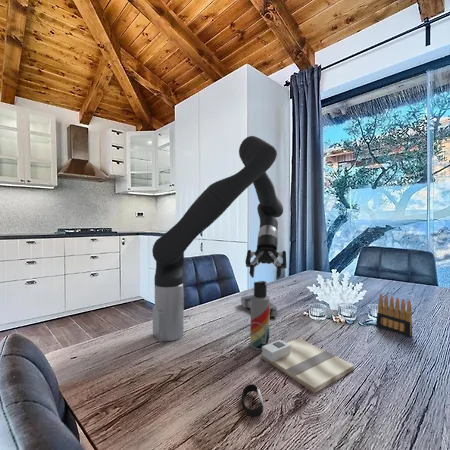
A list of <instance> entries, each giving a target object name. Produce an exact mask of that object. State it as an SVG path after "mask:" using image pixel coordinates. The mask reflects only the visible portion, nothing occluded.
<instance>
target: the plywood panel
mask: <svg viewBox="0 0 450 450" xmlns="http://www.w3.org/2000/svg"><path fill="white" fill-rule="evenodd" d="M286 343H287V344H289V345H291V354H289V355H287V356H285V357H282V358H280V359H278V360H276V361H273V362H272V361H270V360H269V359H267V358H266V357H264V356H262V352H260V358H261V359H263V360H265V361H266V362H267V363H269V364H271V365H272V366H273V367H275V368H277V369H278V370H279V371H280V372H282V373H284V374H285V375H286V376H288V377H290V378H291V379H293V380H294V381H295V382H297V383H298V384H300V385H302V386H303V387H305V388H306V389H308V390H309V391H311V392H312V393H313V394H316V393H318V392H319V391H321V390H323V389H324V388H326V387H327V386H329V385H330V384H331V385H332V384H333V383H334V382H336V381H339V379H341V378H343V377H344V376H346V375H347V374H349V373H351V372H353V371H354V370H355V365H354V364H353V363H351V362H348V361H347V360H344V359H343V358H340V357H339V356H337V355H335V354H333V353H331V352H329V351H327V350H324V349H323V348H320V347H318V346H316V345H314V344H312V343H310V342H309V341H306V340H304V339H303V338H299V337H298V338H296V339H293V340H290V341H288V342H286Z"/></svg>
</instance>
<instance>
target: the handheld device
mask: <svg viewBox="0 0 450 450" xmlns="http://www.w3.org/2000/svg"><path fill="white" fill-rule="evenodd" d="M252 295H253V294H250V295H245V296H244V295H243V296H241V298H240V302H241V306H242V307H243V309H245V308H246V309H250V310H251V296H252ZM272 317H273V318H276V317H278V308H277V306H276V305H275V304H273V303H272V302H270V318H272Z"/></svg>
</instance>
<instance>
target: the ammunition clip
mask: <svg viewBox="0 0 450 450" xmlns="http://www.w3.org/2000/svg"><path fill="white" fill-rule="evenodd" d="M412 315H413V312H412V301H411V300H410V299H408V302H407V304H406V300H405V299H404V298H403V299H402V300H401V303H400V298H399V297H396V299H395V301H394V296H392V295H391V297H390V299H389V296H388V295H387V294H386V295H385V296H384V298H383V293H380V294H379V298H378V304H377V312H376V321H375V322H376V325H375V326H376V327H377V328H380V329H383V330H386V331H388V330H389V332H391V331H392V333H394V332H396V333H395V334H397V333H398V334H397V335H400V334H402V335H401V336H403V335H405V336H404V337H406V336H408V337H407V338H409V337H410V338H411V337H413V321H412V320H413V316H412Z"/></svg>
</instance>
